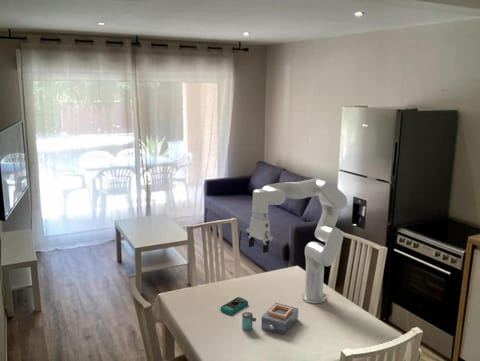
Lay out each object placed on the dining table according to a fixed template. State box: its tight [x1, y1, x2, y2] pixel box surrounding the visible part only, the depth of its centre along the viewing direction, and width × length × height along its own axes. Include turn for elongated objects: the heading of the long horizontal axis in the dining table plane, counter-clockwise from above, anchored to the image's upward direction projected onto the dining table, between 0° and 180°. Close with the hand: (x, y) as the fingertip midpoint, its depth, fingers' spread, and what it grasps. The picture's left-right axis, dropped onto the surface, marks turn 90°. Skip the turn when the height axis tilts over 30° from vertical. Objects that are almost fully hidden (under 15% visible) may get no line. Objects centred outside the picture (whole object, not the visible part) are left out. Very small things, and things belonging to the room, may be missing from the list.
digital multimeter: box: [220, 296, 249, 316], centre depth 223 cm, size 7×15×3 cm, turn 142°
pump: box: [241, 311, 257, 332], centre depth 203 cm, size 5×7×7 cm
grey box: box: [261, 302, 299, 336], centre depth 206 cm, size 18×12×8 cm, turn 151°
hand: (258, 249), depth 209 cm, fingers open, 9 cm apart
